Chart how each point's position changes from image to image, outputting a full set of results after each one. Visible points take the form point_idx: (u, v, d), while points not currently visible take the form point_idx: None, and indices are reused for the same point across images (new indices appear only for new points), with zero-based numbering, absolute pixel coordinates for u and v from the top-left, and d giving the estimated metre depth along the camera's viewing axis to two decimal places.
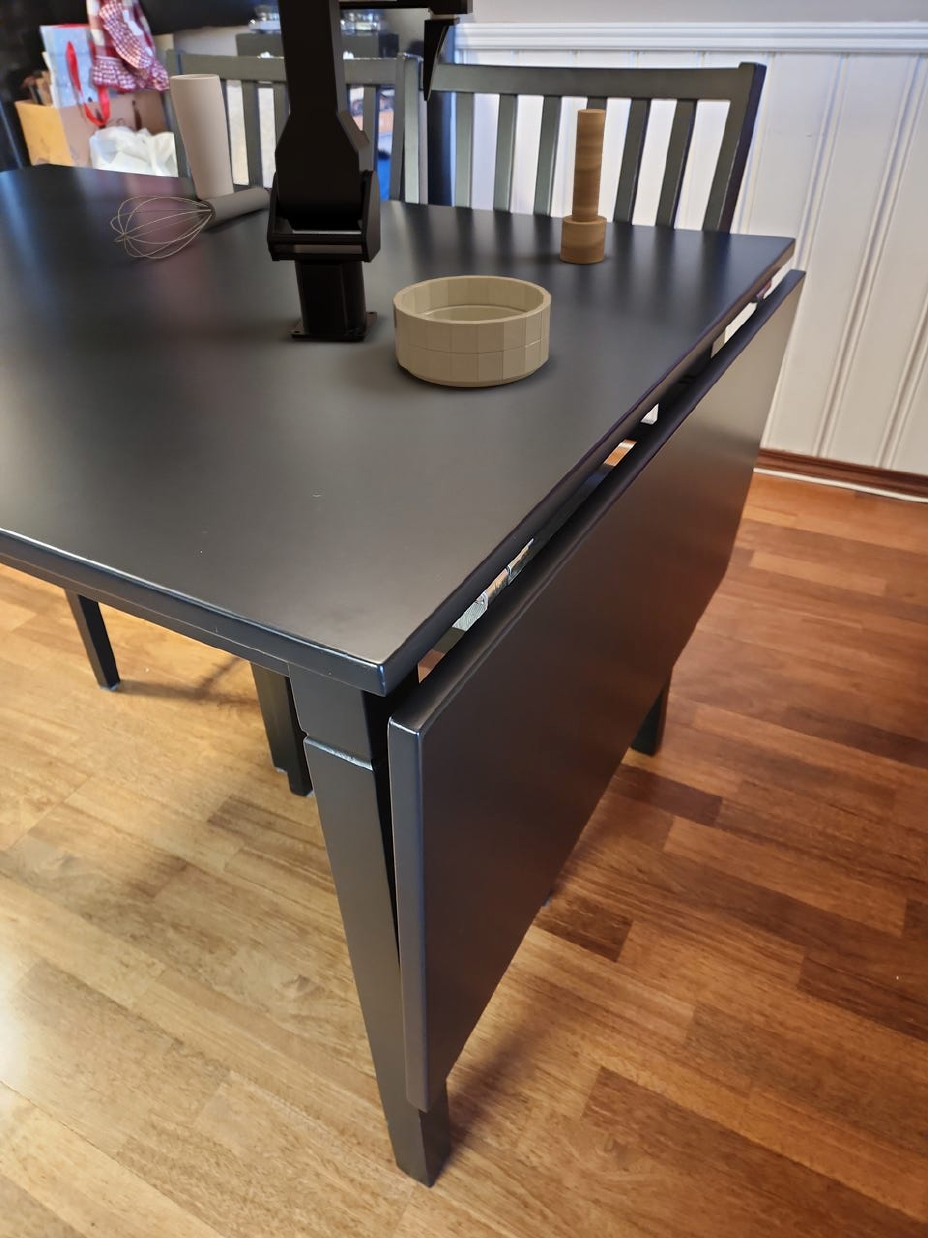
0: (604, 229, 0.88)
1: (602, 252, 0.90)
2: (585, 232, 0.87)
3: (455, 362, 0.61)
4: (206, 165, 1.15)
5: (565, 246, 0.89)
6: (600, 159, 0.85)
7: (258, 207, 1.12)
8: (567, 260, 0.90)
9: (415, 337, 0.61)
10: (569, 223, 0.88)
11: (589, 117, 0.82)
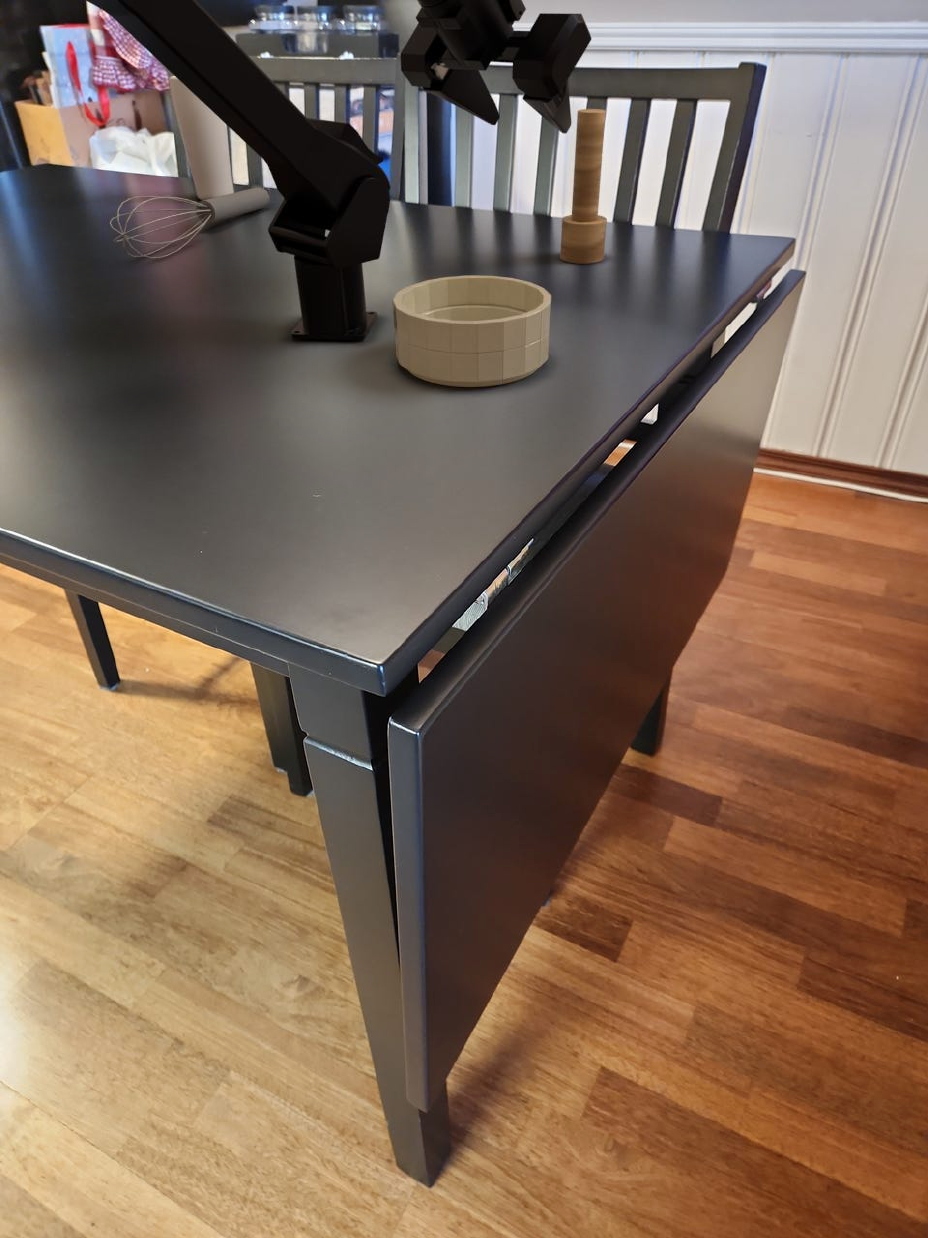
0: (604, 229, 0.88)
1: (602, 252, 0.90)
2: (585, 232, 0.87)
3: (455, 362, 0.61)
4: (206, 165, 1.15)
5: (565, 246, 0.89)
6: (600, 159, 0.85)
7: (258, 207, 1.12)
8: (567, 260, 0.90)
9: (415, 337, 0.61)
10: (569, 223, 0.88)
11: (589, 117, 0.82)
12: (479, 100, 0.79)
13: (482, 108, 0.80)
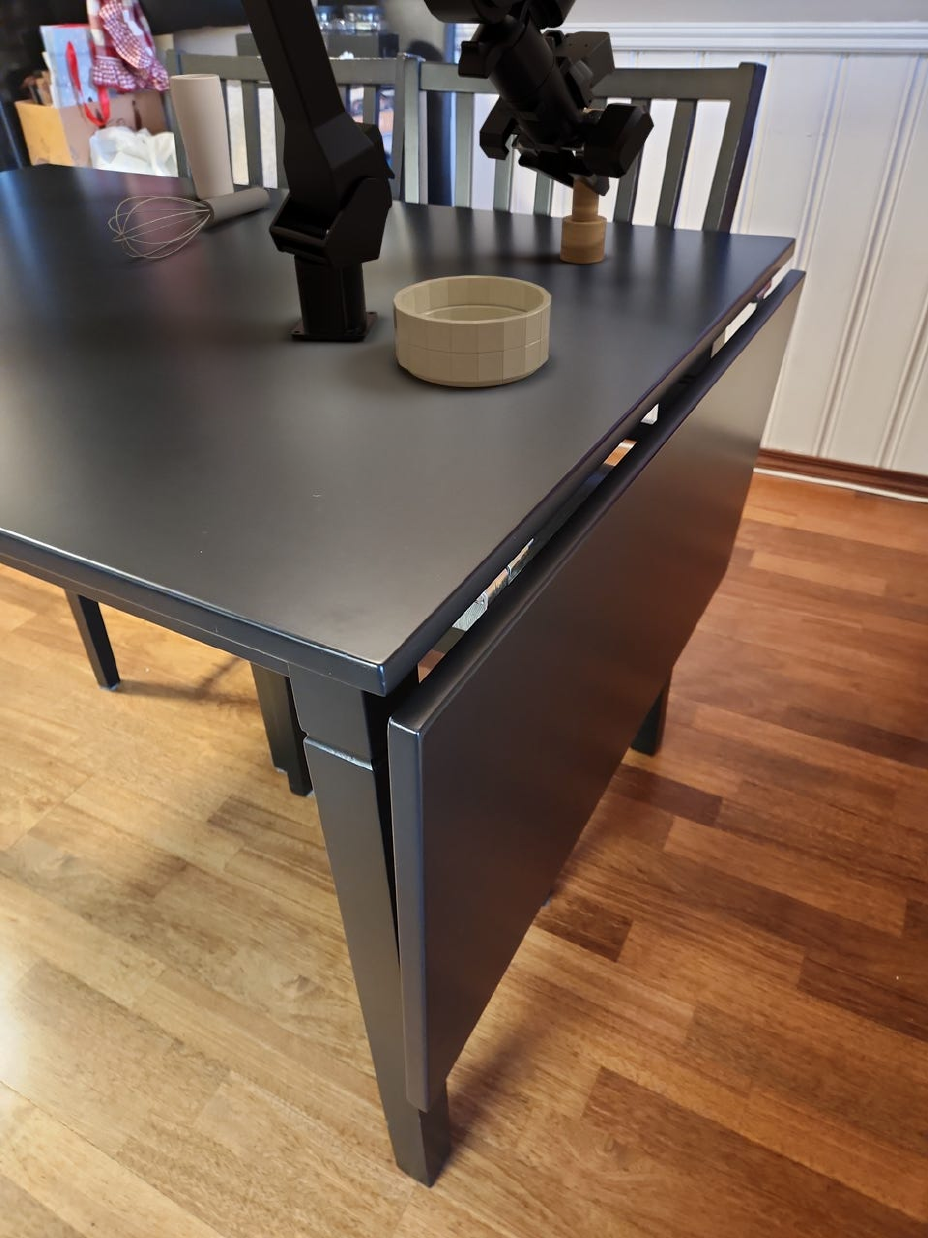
0: (604, 229, 0.88)
1: (602, 252, 0.90)
2: (585, 232, 0.87)
3: (455, 362, 0.61)
4: (206, 165, 1.15)
5: (565, 246, 0.89)
6: None
7: (257, 207, 1.12)
8: (567, 260, 0.90)
9: (415, 337, 0.61)
10: (569, 223, 0.88)
11: None
12: None
13: (572, 178, 0.87)
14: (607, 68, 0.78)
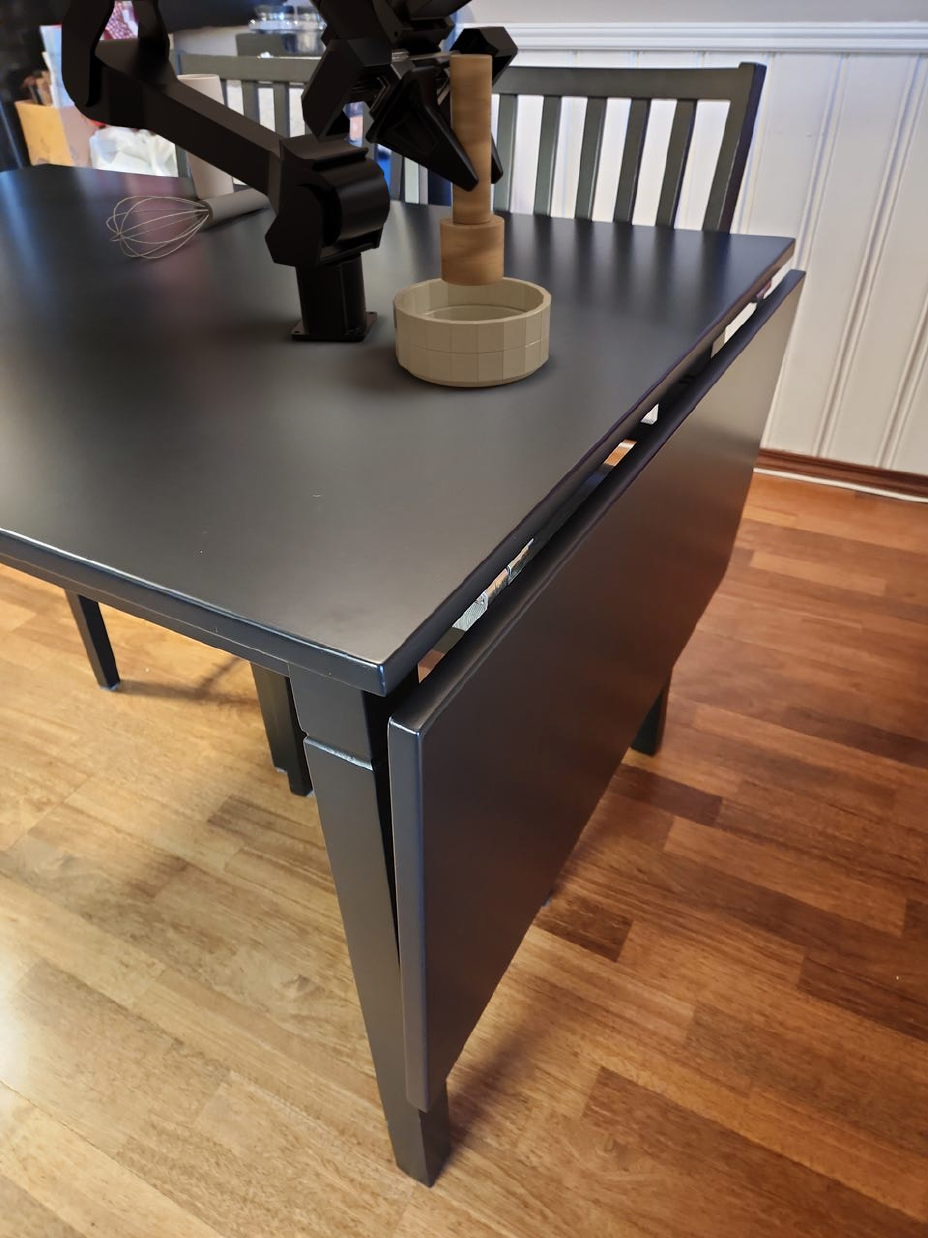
0: (462, 240, 0.59)
1: (462, 274, 0.61)
2: (439, 234, 0.61)
3: (455, 362, 0.61)
4: (206, 165, 1.15)
5: None
6: (463, 132, 0.56)
7: (257, 207, 1.12)
8: None
9: (415, 337, 0.61)
10: None
11: None
12: None
13: None
14: None
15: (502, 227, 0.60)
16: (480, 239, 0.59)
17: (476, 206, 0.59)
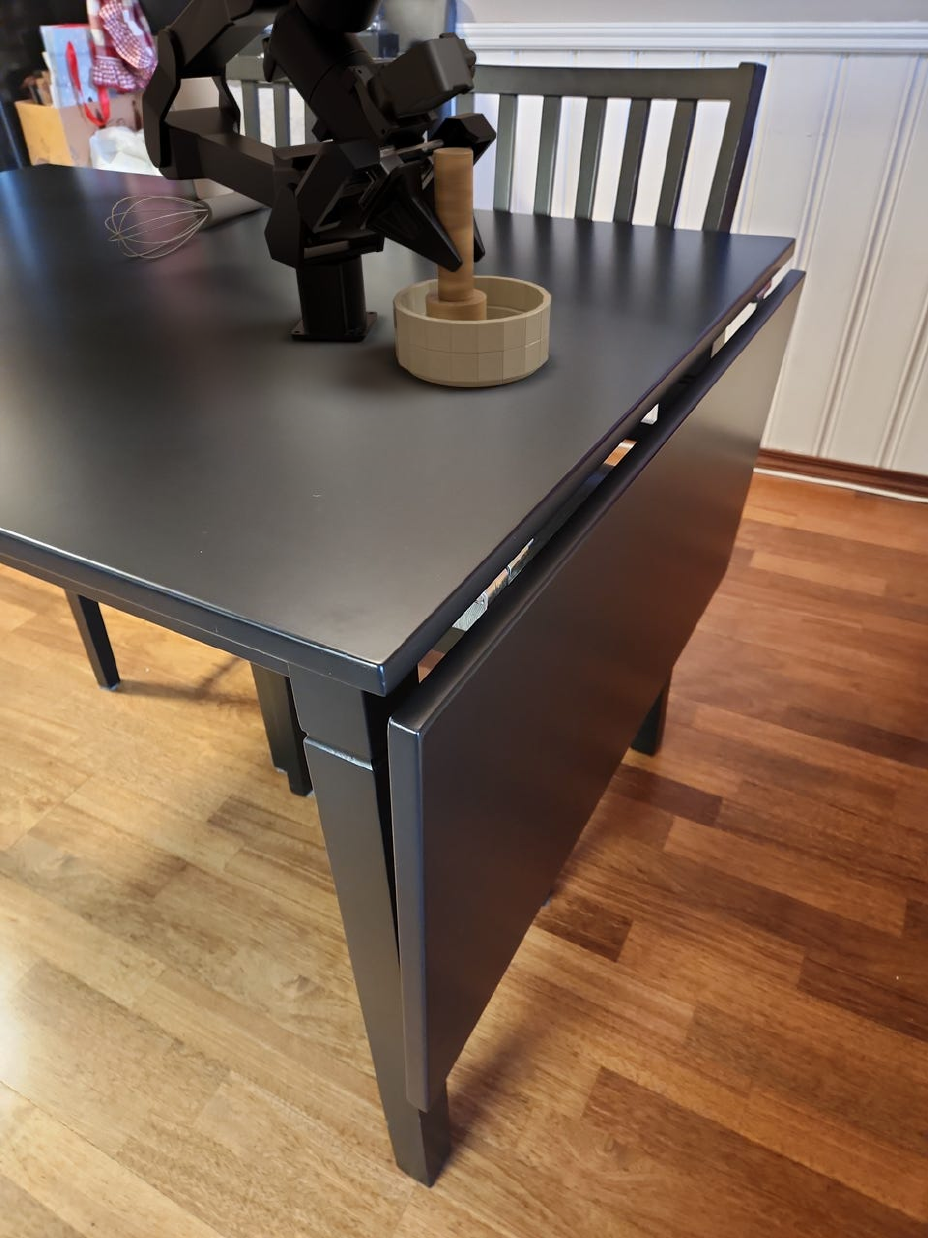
0: (447, 316, 0.63)
1: None
2: (426, 309, 0.65)
3: (455, 362, 0.61)
4: None
5: None
6: (447, 220, 0.60)
7: (256, 207, 1.12)
8: None
9: (415, 337, 0.61)
10: None
11: None
12: None
13: None
14: (418, 91, 0.55)
15: (484, 303, 0.64)
16: (464, 315, 0.63)
17: (460, 285, 0.63)
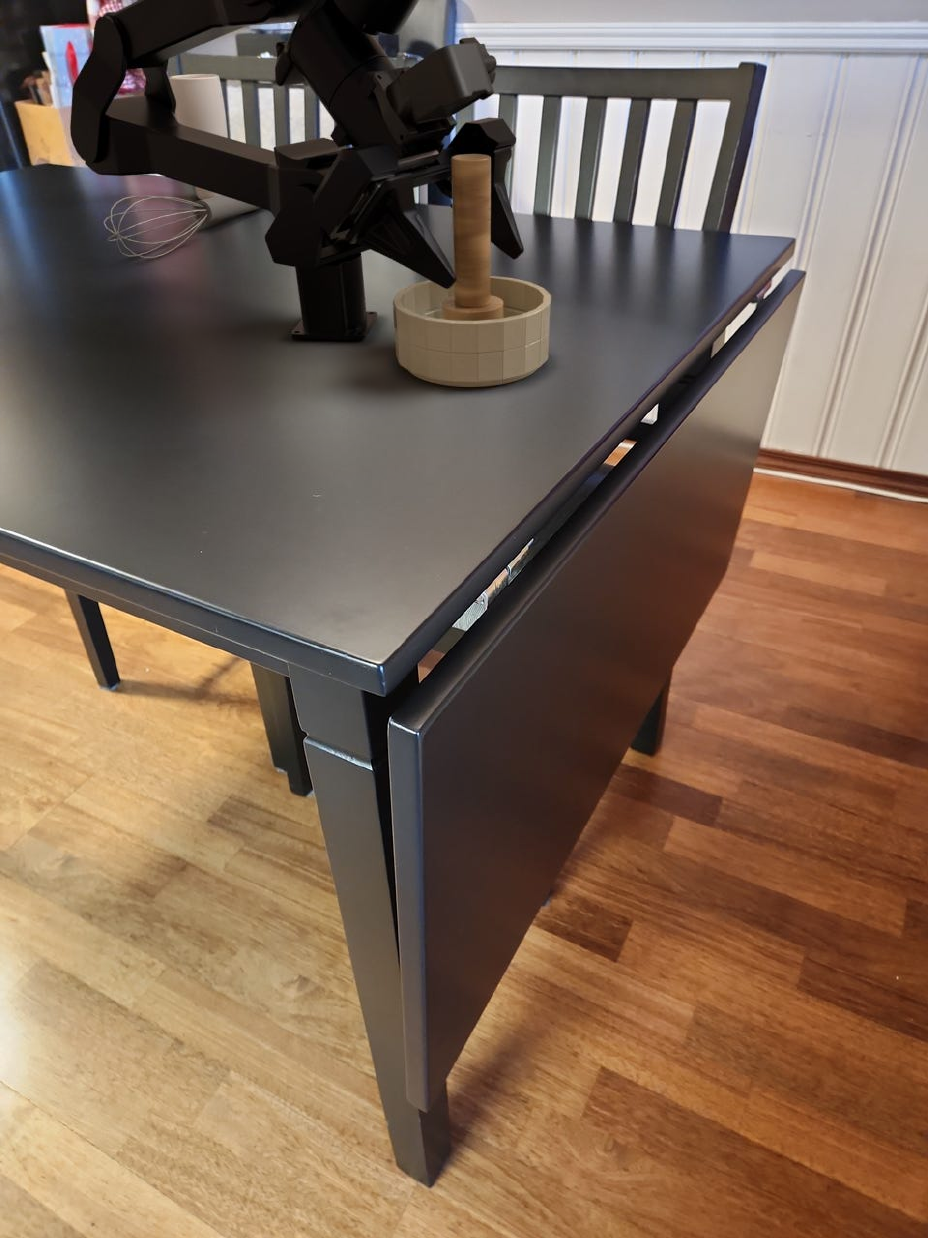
0: None
1: None
2: (442, 316, 0.64)
3: (455, 362, 0.61)
4: None
5: None
6: (464, 226, 0.60)
7: (256, 207, 1.12)
8: None
9: (415, 337, 0.61)
10: None
11: (451, 164, 0.58)
12: (493, 226, 0.65)
13: (496, 236, 0.65)
14: (437, 97, 0.55)
15: (501, 309, 0.64)
16: None
17: (477, 291, 0.62)
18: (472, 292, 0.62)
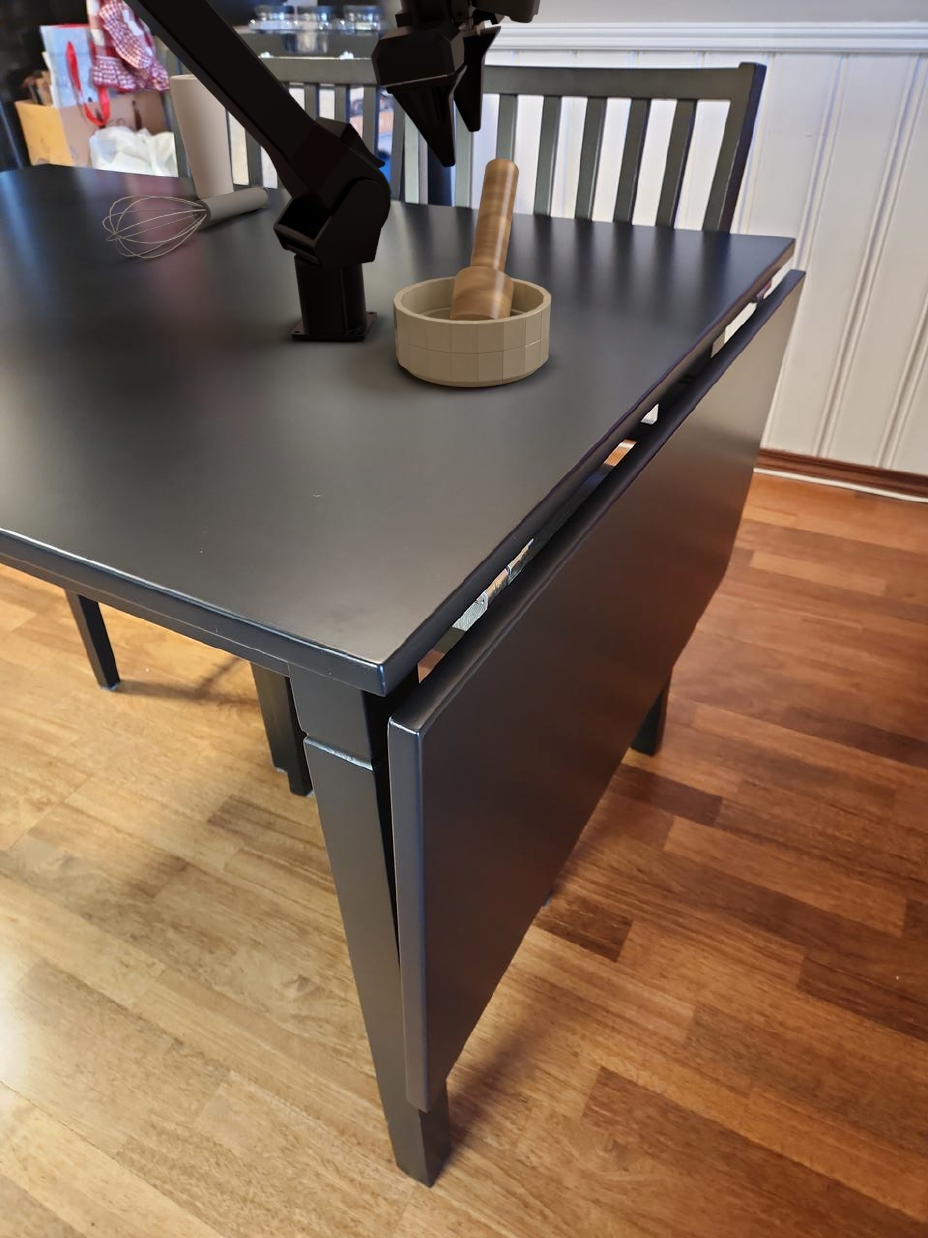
0: (481, 276, 0.64)
1: (476, 304, 0.64)
2: (455, 283, 0.66)
3: (455, 362, 0.61)
4: (206, 165, 1.15)
5: None
6: (492, 206, 0.66)
7: (256, 207, 1.12)
8: None
9: (415, 337, 0.61)
10: None
11: (485, 170, 0.67)
12: (464, 93, 0.73)
13: (463, 103, 0.73)
14: (509, 8, 0.62)
15: (513, 288, 0.66)
16: (497, 279, 0.64)
17: (495, 261, 0.65)
18: (491, 260, 0.65)
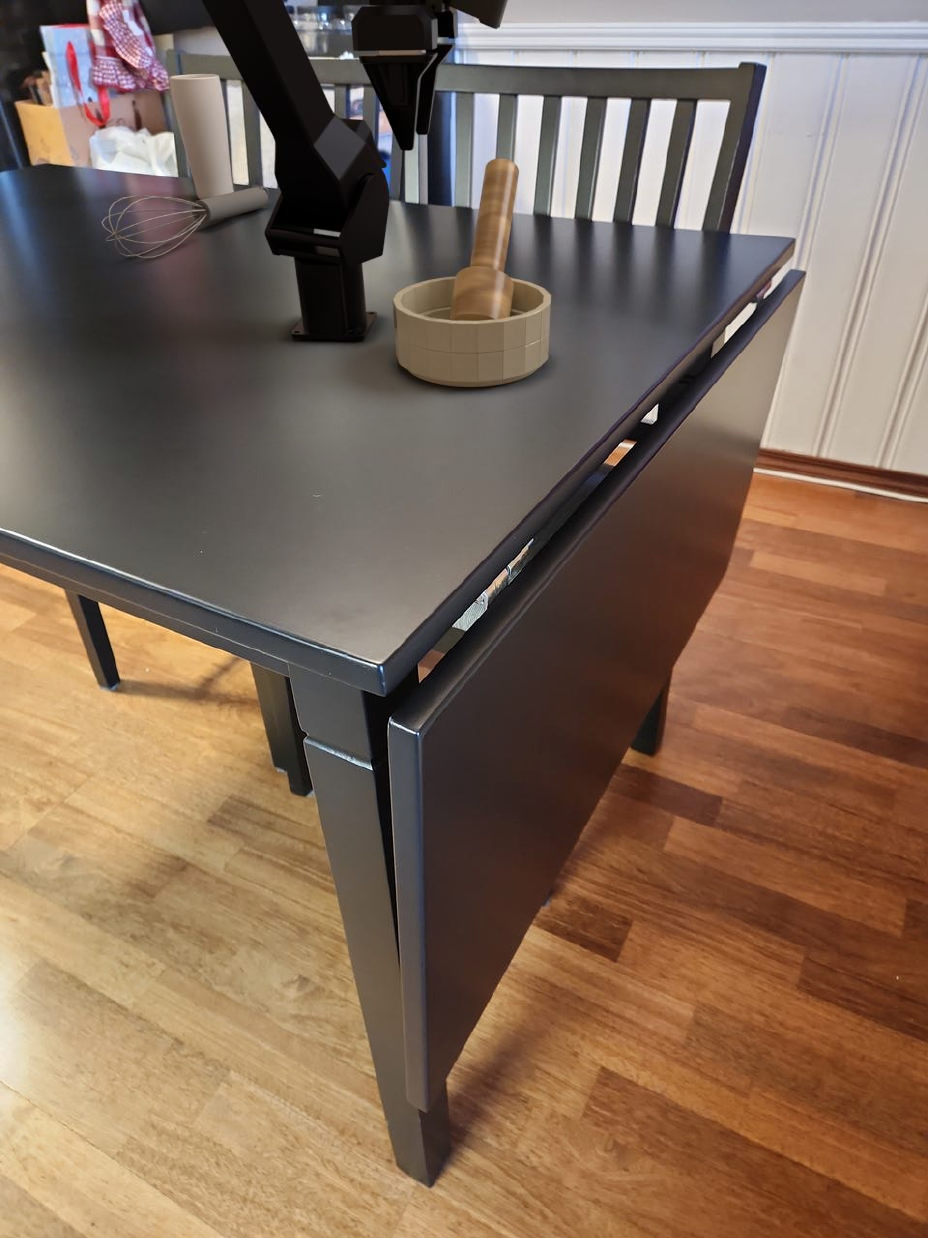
0: (481, 276, 0.64)
1: (476, 304, 0.64)
2: (455, 283, 0.66)
3: (455, 362, 0.61)
4: (206, 165, 1.15)
5: None
6: (492, 206, 0.66)
7: (256, 207, 1.12)
8: None
9: (415, 337, 0.61)
10: None
11: (485, 170, 0.67)
12: None
13: None
14: (479, 11, 0.66)
15: (513, 288, 0.66)
16: (497, 279, 0.64)
17: (495, 261, 0.65)
18: (491, 260, 0.65)
